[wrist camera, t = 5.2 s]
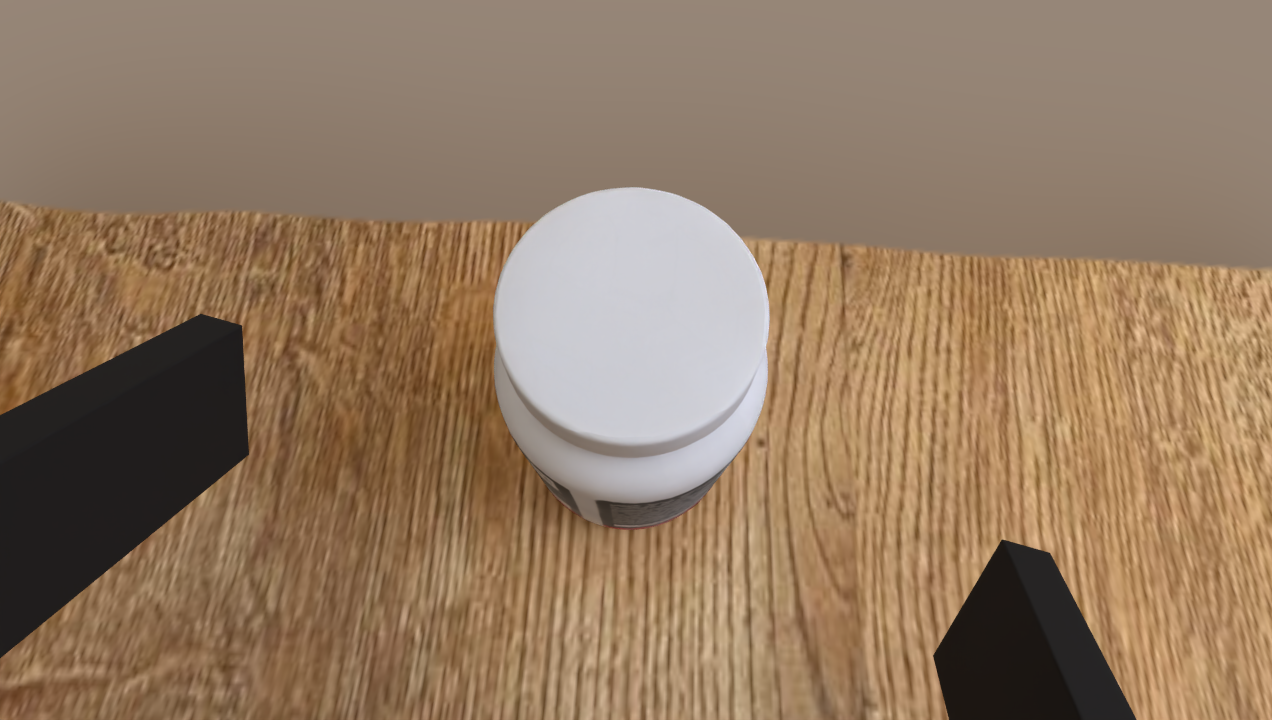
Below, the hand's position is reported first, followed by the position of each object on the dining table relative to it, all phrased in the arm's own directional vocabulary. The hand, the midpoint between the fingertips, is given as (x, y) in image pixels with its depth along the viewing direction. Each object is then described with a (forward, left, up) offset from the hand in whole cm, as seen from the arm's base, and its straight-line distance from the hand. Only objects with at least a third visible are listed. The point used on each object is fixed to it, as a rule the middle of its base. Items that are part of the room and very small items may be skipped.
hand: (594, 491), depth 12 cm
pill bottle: (-3, +1, -9) cm, 9 cm away
